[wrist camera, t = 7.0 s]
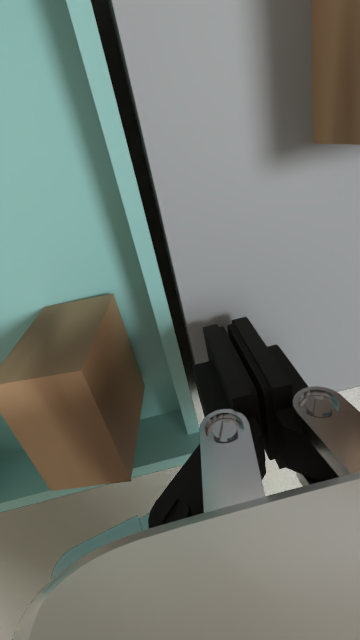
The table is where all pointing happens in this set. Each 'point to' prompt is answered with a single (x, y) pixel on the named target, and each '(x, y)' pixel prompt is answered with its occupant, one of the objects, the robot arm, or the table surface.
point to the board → (247, 176)
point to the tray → (77, 225)
